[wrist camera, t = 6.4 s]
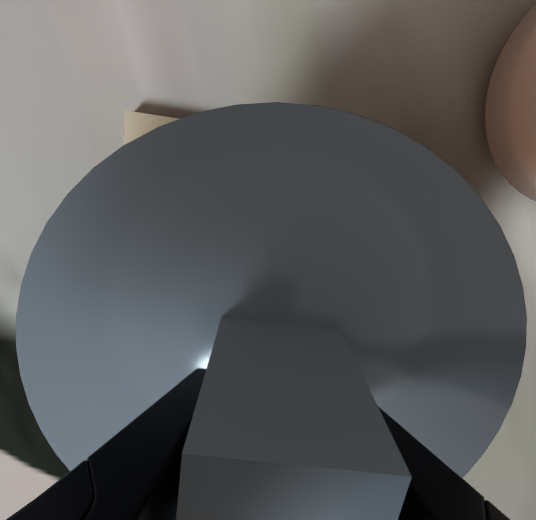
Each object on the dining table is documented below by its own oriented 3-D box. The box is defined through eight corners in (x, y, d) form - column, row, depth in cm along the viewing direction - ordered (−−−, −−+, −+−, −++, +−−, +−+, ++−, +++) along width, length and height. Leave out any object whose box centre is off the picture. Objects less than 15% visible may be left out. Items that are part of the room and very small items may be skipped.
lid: (570, 154, 8) (1035, 129, 3) (428, 538, 11) (549, 808, 7) (30, 69, 7) (-411, -120, 3) (50, 503, 11) (-123, 774, 6)
